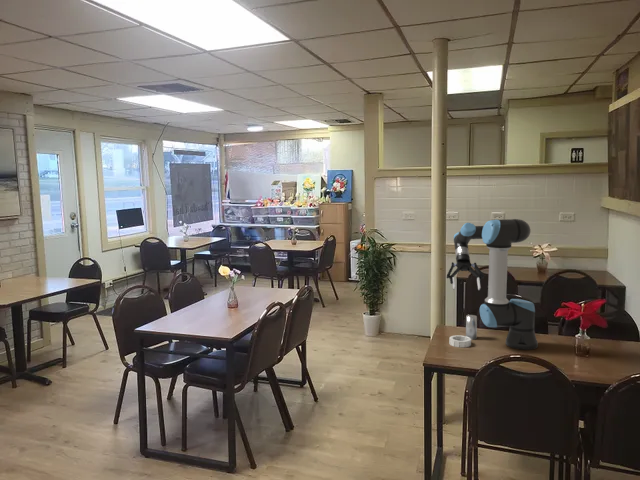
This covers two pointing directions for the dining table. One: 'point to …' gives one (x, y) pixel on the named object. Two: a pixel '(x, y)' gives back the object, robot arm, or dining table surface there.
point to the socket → (460, 341)
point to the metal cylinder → (471, 326)
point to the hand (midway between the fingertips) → (466, 288)
